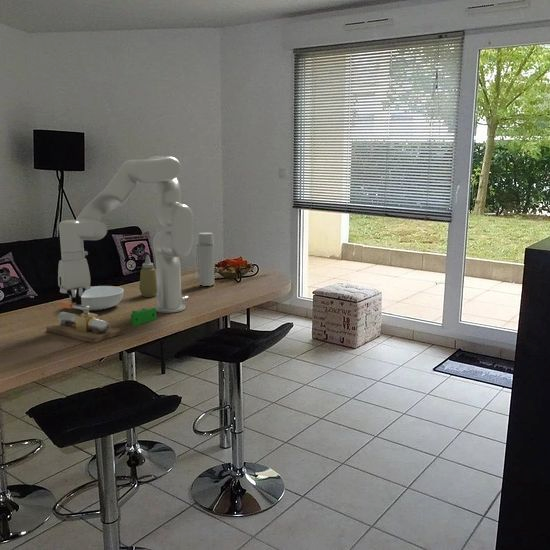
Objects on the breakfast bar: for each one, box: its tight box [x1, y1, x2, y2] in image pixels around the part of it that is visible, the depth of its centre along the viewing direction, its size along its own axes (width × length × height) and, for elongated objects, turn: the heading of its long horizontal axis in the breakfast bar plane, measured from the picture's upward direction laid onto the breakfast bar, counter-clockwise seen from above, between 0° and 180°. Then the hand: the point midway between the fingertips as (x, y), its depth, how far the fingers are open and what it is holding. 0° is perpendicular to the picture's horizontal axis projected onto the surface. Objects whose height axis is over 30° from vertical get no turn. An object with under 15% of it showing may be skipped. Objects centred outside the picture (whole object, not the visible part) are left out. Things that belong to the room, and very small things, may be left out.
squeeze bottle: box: [139, 254, 157, 298], centre depth 252 cm, size 8×8×18 cm
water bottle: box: [194, 232, 215, 286], centre depth 272 cm, size 9×8×25 cm
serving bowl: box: [68, 285, 125, 311], centre depth 233 cm, size 21×21×7 cm
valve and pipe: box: [57, 311, 110, 334], centre depth 199 cm, size 5×22×5 cm, turn 58°
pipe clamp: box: [130, 307, 157, 327], centre depth 213 cm, size 11×4×5 cm, turn 145°
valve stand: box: [46, 322, 122, 344], centre depth 200 cm, size 12×24×2 cm, turn 58°
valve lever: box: [58, 300, 91, 315], centre depth 200 cm, size 13×3×3 cm, turn 59°
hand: (76, 307), depth 205 cm, fingers closed
